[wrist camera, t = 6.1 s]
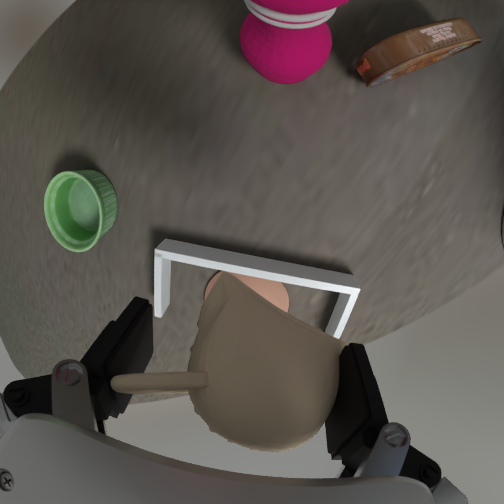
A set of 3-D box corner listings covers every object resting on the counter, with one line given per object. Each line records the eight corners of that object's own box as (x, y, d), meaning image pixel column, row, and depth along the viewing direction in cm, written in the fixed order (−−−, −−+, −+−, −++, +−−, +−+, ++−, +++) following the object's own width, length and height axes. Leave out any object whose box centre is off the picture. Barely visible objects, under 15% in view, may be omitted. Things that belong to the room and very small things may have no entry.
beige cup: (296, 390, 13) (298, 478, 8) (153, 312, 12) (100, 400, 7) (352, 345, 12) (378, 442, 7) (194, 245, 10) (132, 335, 5)
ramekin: (57, 183, 27) (34, 191, 23) (106, 152, 25) (83, 156, 21) (82, 246, 30) (62, 260, 26) (134, 225, 28) (114, 239, 24)
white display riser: (353, 275, 29) (360, 288, 26) (330, 333, 32) (333, 350, 29) (165, 238, 29) (154, 249, 26) (163, 302, 32) (154, 316, 29)
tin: (357, 95, 21) (391, 78, 14) (339, 68, 20) (366, 40, 13) (454, 56, 17) (498, 42, 10) (439, 32, 16) (480, 13, 9)
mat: (298, 274, 29) (298, 275, 29) (278, 340, 33) (278, 342, 33) (209, 256, 29) (208, 257, 29) (202, 325, 33) (201, 327, 33)
